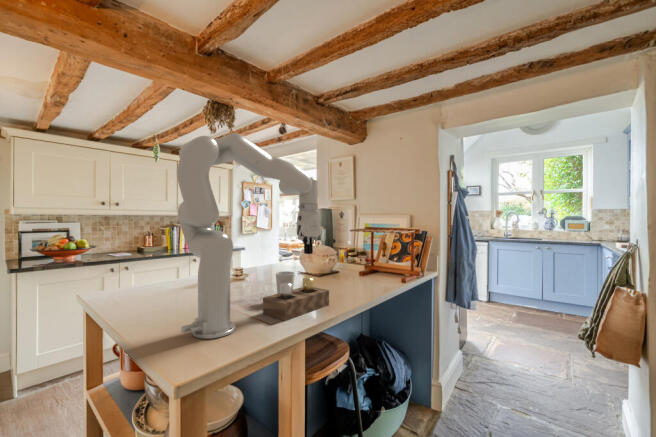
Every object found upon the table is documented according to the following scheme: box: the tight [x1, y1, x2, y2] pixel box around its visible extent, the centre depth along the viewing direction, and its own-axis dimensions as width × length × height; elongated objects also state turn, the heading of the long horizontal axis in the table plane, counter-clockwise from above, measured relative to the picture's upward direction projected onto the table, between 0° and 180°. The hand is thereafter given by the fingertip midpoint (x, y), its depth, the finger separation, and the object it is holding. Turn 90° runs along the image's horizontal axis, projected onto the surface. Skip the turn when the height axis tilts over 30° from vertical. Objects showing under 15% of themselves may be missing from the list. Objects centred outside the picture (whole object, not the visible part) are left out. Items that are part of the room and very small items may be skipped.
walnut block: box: [262, 286, 330, 322], centre depth 114 cm, size 24×12×6 cm, turn 141°
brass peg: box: [302, 276, 315, 294], centre depth 118 cm, size 4×4×6 cm
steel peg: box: [280, 282, 292, 300], centre depth 109 cm, size 4×4×6 cm
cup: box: [275, 270, 296, 294], centre depth 124 cm, size 8×8×12 cm
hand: (308, 253), depth 118 cm, fingers closed
